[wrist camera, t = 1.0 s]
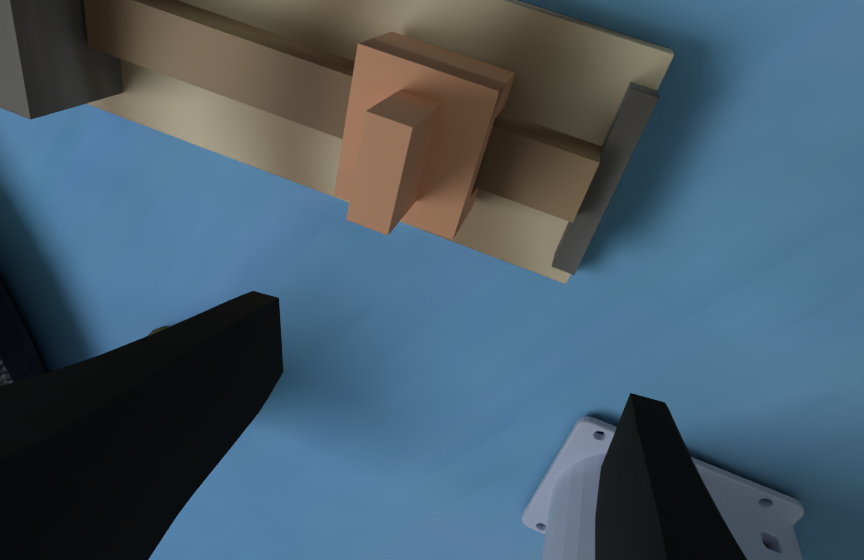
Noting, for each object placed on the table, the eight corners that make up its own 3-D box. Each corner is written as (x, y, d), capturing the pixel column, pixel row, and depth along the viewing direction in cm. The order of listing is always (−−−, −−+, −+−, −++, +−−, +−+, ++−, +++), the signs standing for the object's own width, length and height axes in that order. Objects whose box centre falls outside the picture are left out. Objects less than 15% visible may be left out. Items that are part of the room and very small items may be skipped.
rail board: (671, 49, 16) (686, 83, 12) (568, 270, 21) (553, 350, 16) (83, -139, 18) (-74, -164, 14) (105, 97, 23) (-10, 130, 19)
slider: (515, 73, 16) (478, 113, 12) (472, 207, 19) (429, 278, 15) (392, 31, 17) (316, 57, 13) (365, 168, 19) (295, 226, 15)
